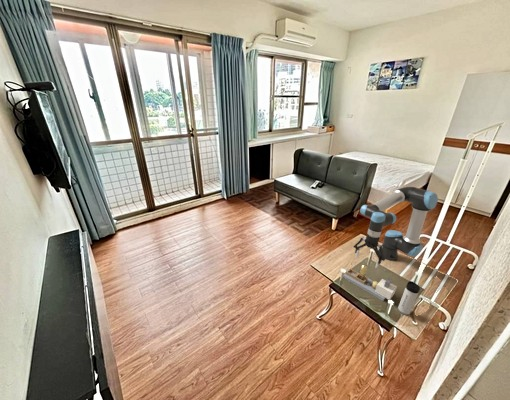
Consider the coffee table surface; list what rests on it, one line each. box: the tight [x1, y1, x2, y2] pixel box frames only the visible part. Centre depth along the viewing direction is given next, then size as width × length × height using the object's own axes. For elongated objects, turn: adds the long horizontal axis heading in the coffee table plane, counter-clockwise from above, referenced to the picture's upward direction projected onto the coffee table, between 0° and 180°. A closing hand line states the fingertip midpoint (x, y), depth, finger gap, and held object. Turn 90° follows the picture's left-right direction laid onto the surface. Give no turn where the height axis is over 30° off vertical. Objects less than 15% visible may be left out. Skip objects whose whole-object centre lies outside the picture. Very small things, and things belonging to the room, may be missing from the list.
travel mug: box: [397, 280, 421, 316], centre depth 129 cm, size 6×7×20 cm
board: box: [342, 268, 386, 302], centre depth 152 cm, size 12×28×6 cm, turn 41°
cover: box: [375, 277, 398, 301], centre depth 142 cm, size 9×9×10 cm
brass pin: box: [359, 263, 368, 281], centre depth 152 cm, size 4×4×12 cm
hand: (366, 262), depth 150 cm, fingers open, 13 cm apart
